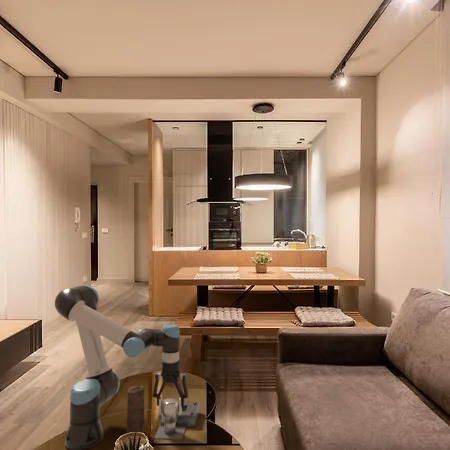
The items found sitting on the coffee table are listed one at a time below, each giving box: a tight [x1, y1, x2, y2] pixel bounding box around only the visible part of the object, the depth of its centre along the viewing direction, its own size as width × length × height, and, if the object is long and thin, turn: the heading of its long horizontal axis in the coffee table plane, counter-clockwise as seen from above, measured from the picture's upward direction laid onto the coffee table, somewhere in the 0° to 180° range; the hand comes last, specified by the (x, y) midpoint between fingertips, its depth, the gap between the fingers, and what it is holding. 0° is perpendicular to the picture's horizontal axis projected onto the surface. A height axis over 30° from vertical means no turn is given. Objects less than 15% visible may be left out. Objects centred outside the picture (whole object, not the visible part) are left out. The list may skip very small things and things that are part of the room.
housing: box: [159, 401, 200, 428], centre depth 172 cm, size 16×14×6 cm
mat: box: [153, 425, 187, 441], centre depth 159 cm, size 12×10×1 cm
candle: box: [126, 385, 145, 434], centre depth 158 cm, size 8×7×20 cm
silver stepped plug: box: [161, 397, 179, 435], centre depth 159 cm, size 7×7×13 cm
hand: (170, 413), depth 159 cm, fingers open, 8 cm apart
